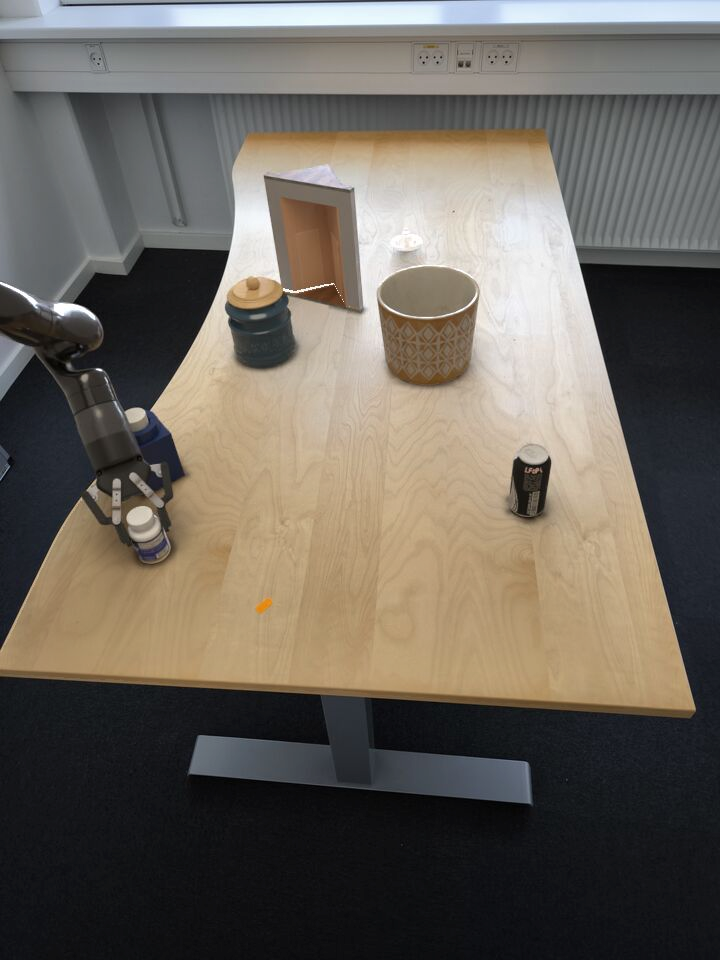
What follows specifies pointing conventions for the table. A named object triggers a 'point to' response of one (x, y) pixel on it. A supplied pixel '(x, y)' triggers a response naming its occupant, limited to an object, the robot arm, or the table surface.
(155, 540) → the pill bottle
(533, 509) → the beverage can
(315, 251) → the cabinet
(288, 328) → the canister
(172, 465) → the blue push button box
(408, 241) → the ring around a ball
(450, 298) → the planter
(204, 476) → the table surface
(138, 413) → the white bottle cap
